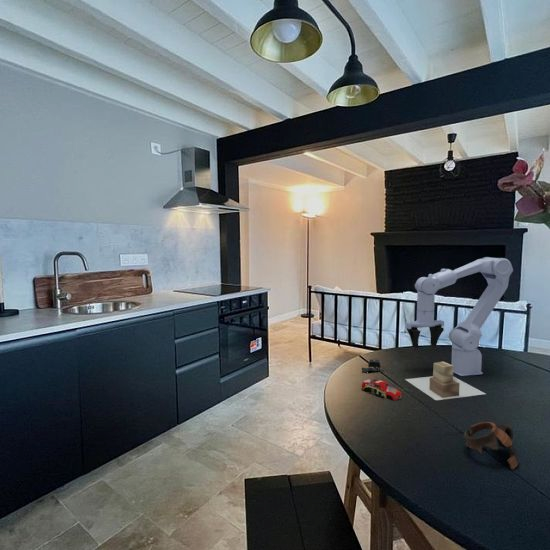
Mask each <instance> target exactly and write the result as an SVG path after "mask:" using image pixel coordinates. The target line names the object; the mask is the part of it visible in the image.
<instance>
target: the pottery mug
mask: <svg viewBox="0 0 550 550" xmlns="http://www.w3.org/2000/svg"><path fill="white" fill-rule="evenodd" d="M469 428H470V430H471V431H470V430H469V429H467V430H464V433H463V436H464V438H465V446H466V447H467V448H469V449H471V450H476V451H478V452H479V453H481V454H483V447H484V446H486V447H487V448H490V449H491V450H494V451H499V447H501V448H503V449H505V450H507V449H509V456H510V457H509V458H508V459H507V460H506V461H507V463H508V464H509V468H510V470H514V469H516V468H517V467H518V464H519V459H518V456H517V453H516V450H515V446H514V443H513V439H514V431H513V429H512V427H511V426H510V425H509V424H507V423H499V424H496V423H494V422H491V421H483V422H478V423H475V424H473V425H470V427H469ZM489 429H491V430H490V431H489V432H487V433H485V434H483V435H481V436H474V434H476V433H478V432H479V431H483V430H489Z"/></svg>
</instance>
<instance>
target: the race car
mask: <svg viewBox="0 0 550 550" xmlns="http://www.w3.org/2000/svg"><path fill="white" fill-rule="evenodd" d="M361 389H362V390H363V391H365V392H366V393H367V394H372V395H375V396H377V397H380V398H382V399H384V400H387V399H388V400H391V401H400V400H403V394H402V392H401V391H400V390H399V389H397V388H395V387H394V386H392V384H390V383H388V382H386V381H385V380H380V379H375V378H373V379H372V378H367V379H364V380H363V382H362V384H361Z"/></svg>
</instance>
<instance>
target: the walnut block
mask: <svg viewBox="0 0 550 550" xmlns="http://www.w3.org/2000/svg"><path fill="white" fill-rule="evenodd" d="M429 377H430V386H429V389H430V390H431V391H433V392H434V393H436V394H437V395H439V396H440V397H442V398H444V397H452V396H459V385H460V383H458V382H456V381H455V380H453V381H451V382H445V383H442V382H440V381H438V380H436V379H434V378H433V377H431V376H429Z"/></svg>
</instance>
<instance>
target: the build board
mask: <svg viewBox="0 0 550 550" xmlns="http://www.w3.org/2000/svg"><path fill="white" fill-rule="evenodd" d="M430 377H433V375H432V376H424V377H414V378H405V380H404V381H407V382H408V383H409V384H411V385H412V386H414V387H415V388H417V389H418V390H420V391H421V392H422V393H424V394H426V395H427V396H429V397H430V398H431V399H433V400H434V401H441V400H442V401H443V400H449V399H450V400H451V399H457V398H466V397H473V396H482V395H486V393H485V392H483V391H481V390H479V388H476V387H474V386H472V385H471V384H468V383H466V381H463V380H461V379H459V378H457V377H456V376H453V380H455V381H456V382H458V383H460V385H459V396H452V397H444V398H442V397H440V396H439V395H437V394H436V393H434V392H433V391H431V390H430V389H429V386H430Z"/></svg>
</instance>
